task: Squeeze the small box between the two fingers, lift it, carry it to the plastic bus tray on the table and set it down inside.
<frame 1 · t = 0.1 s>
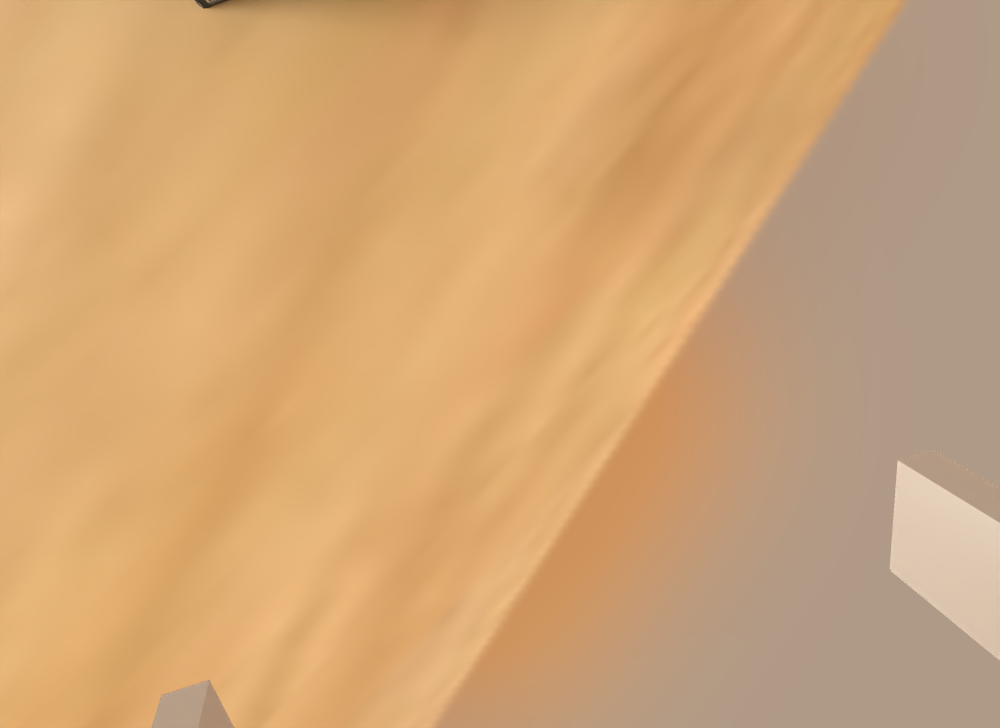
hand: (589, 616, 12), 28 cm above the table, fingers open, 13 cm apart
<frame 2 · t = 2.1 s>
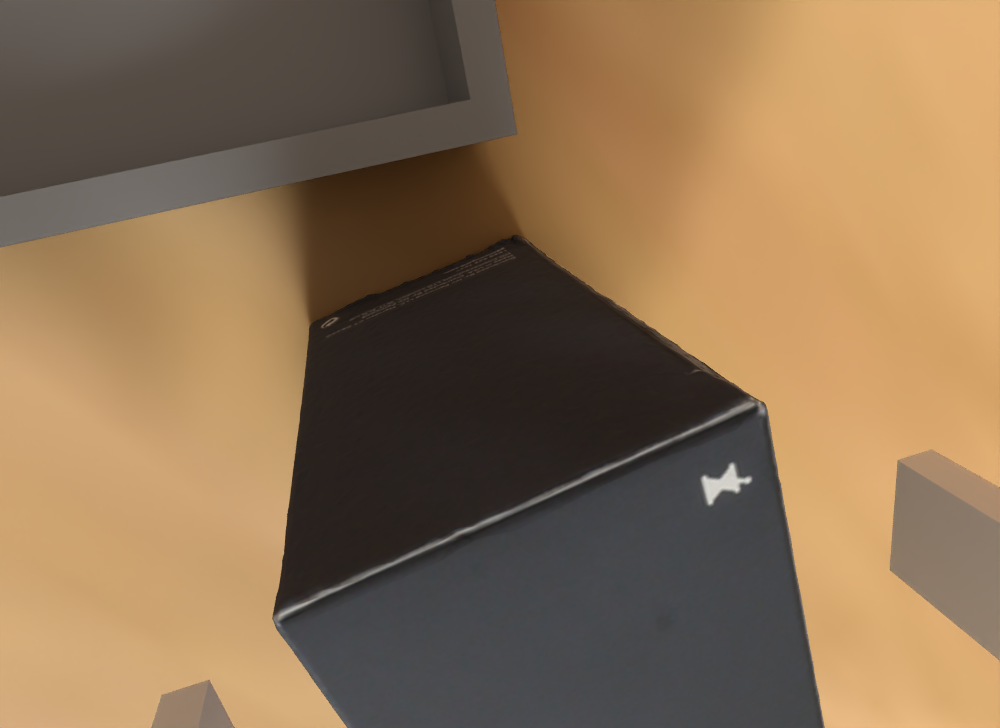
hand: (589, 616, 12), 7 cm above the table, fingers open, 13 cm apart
small box: (477, 436, 19), on the table
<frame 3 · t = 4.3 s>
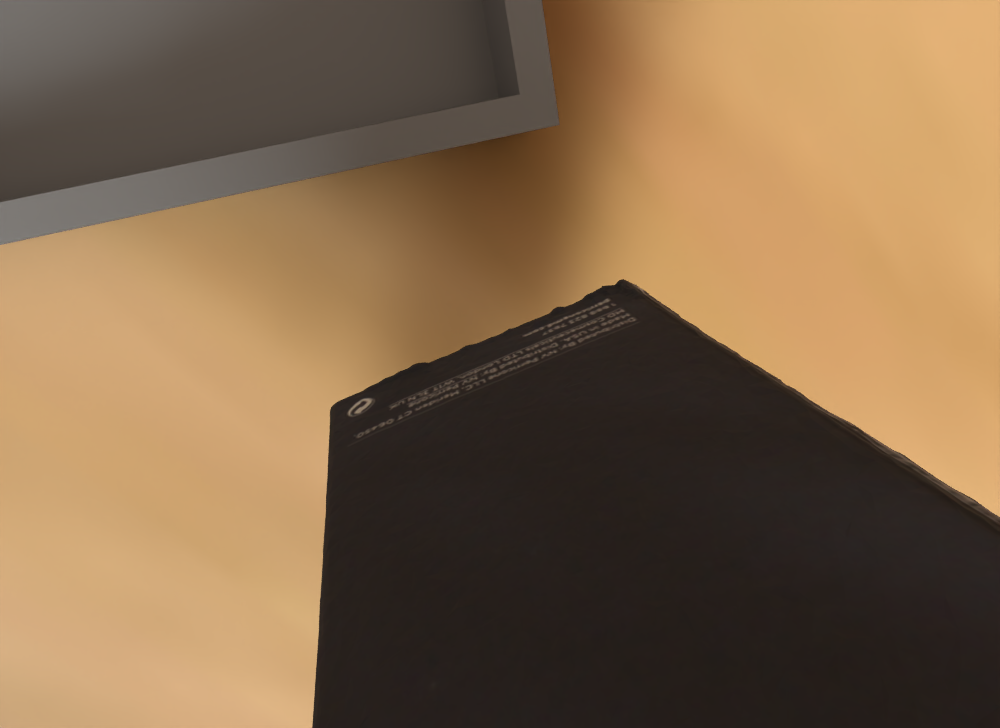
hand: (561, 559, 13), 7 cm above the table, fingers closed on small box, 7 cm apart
small box: (551, 541, 14), point 7 cm above the table, touching gripper
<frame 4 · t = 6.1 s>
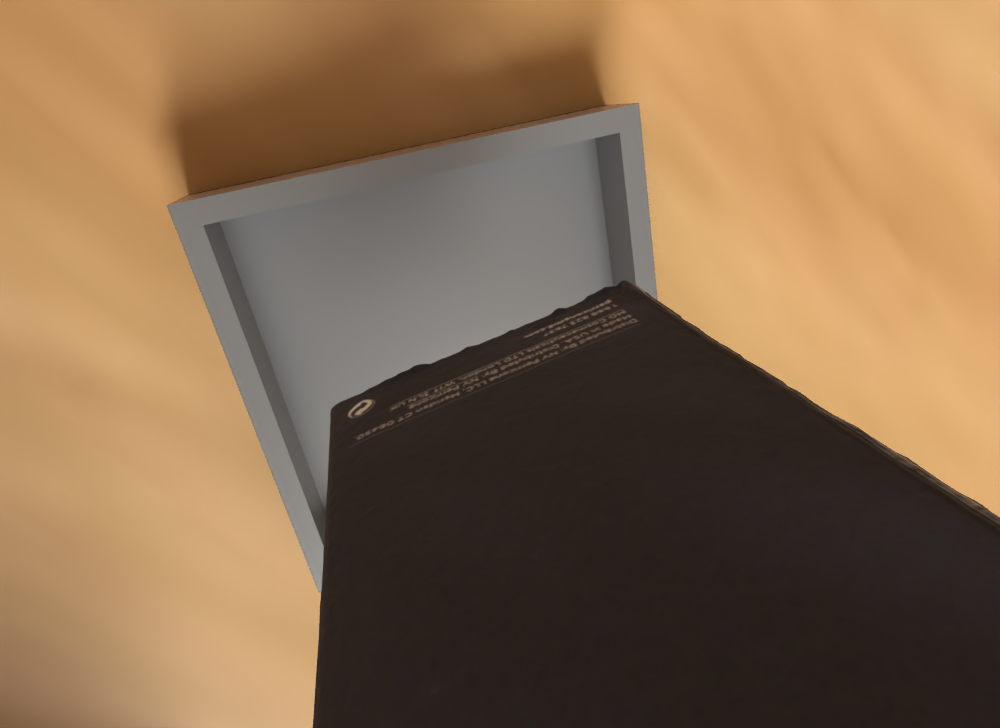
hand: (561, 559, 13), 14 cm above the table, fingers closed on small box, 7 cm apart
small box: (552, 543, 14), point 14 cm above the table, touching gripper
tray: (452, 342, 26), on the table
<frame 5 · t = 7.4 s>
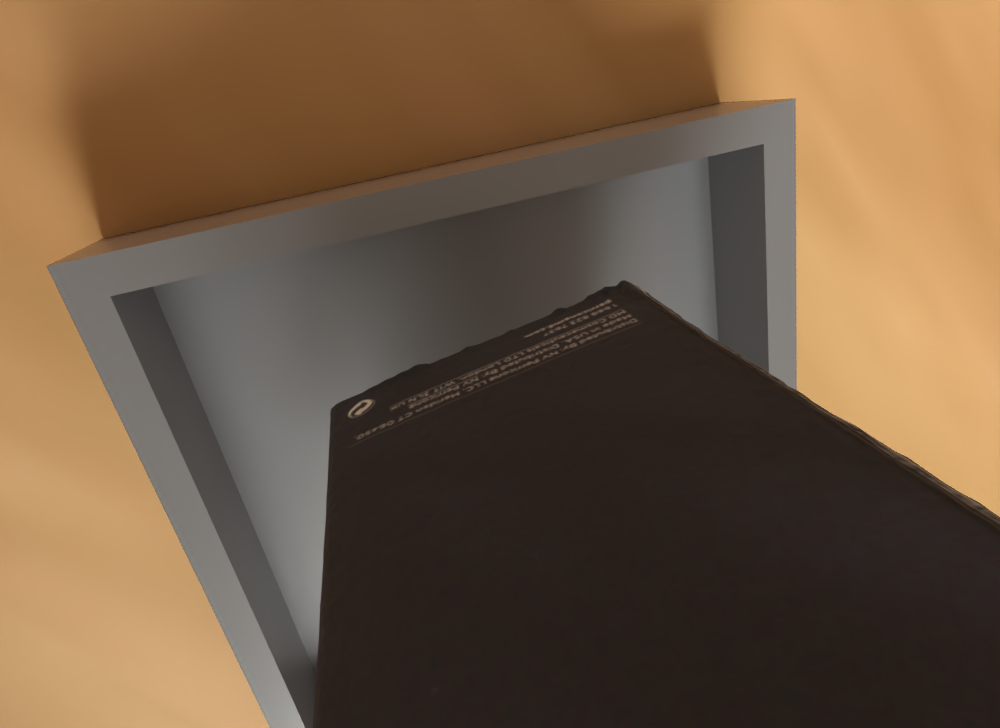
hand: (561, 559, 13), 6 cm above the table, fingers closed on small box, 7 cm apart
small box: (552, 543, 14), point 5 cm above the table, touching gripper
tray: (493, 437, 19), on the table
when the fingers open (2 cm above the table, at t = 8.5 s): small box drops 1 cm, resting on tray.
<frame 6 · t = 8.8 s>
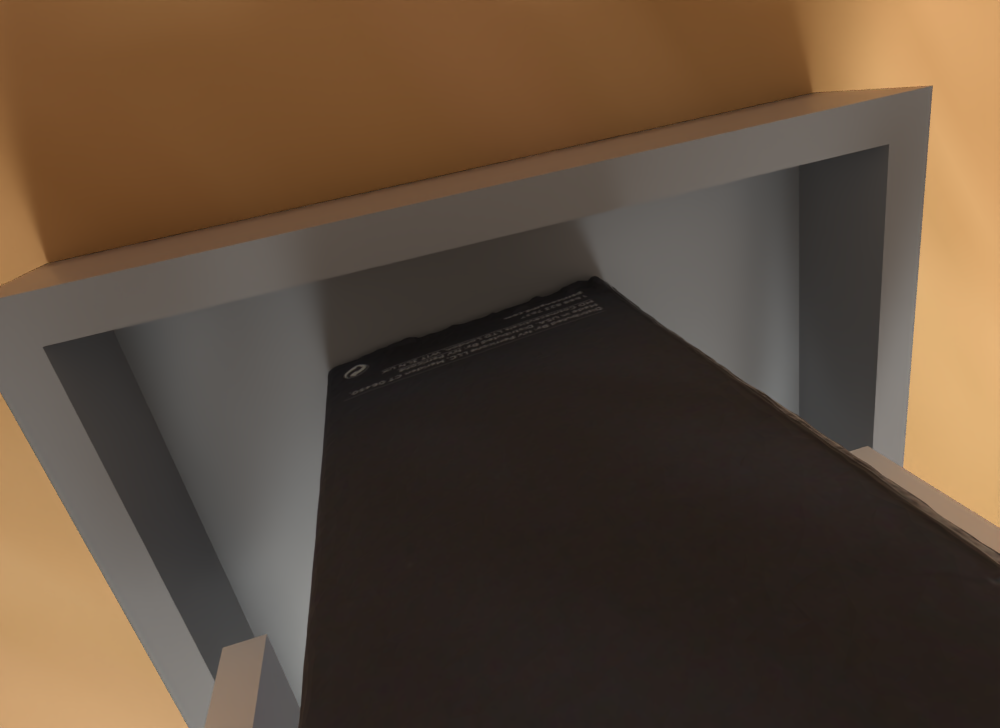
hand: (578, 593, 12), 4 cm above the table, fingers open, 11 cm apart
small box: (518, 512, 15), resting on tray
tray: (529, 494, 16), on the table
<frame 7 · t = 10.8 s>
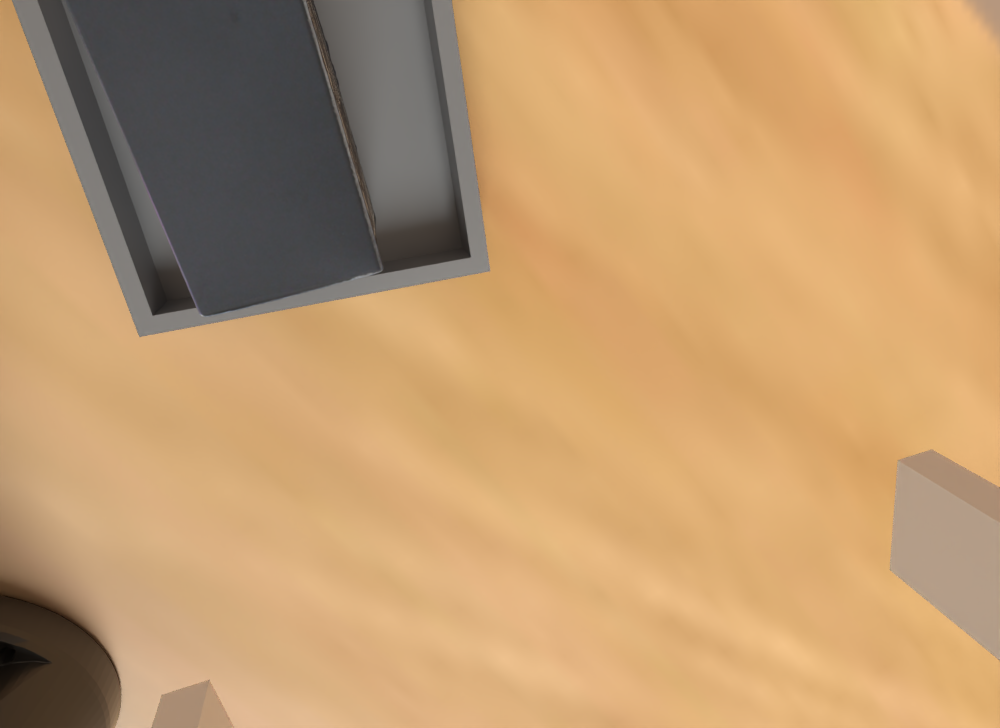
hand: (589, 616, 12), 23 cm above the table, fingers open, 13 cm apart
small box: (273, 123, 28), resting on tray
tray: (282, 118, 28), on the table
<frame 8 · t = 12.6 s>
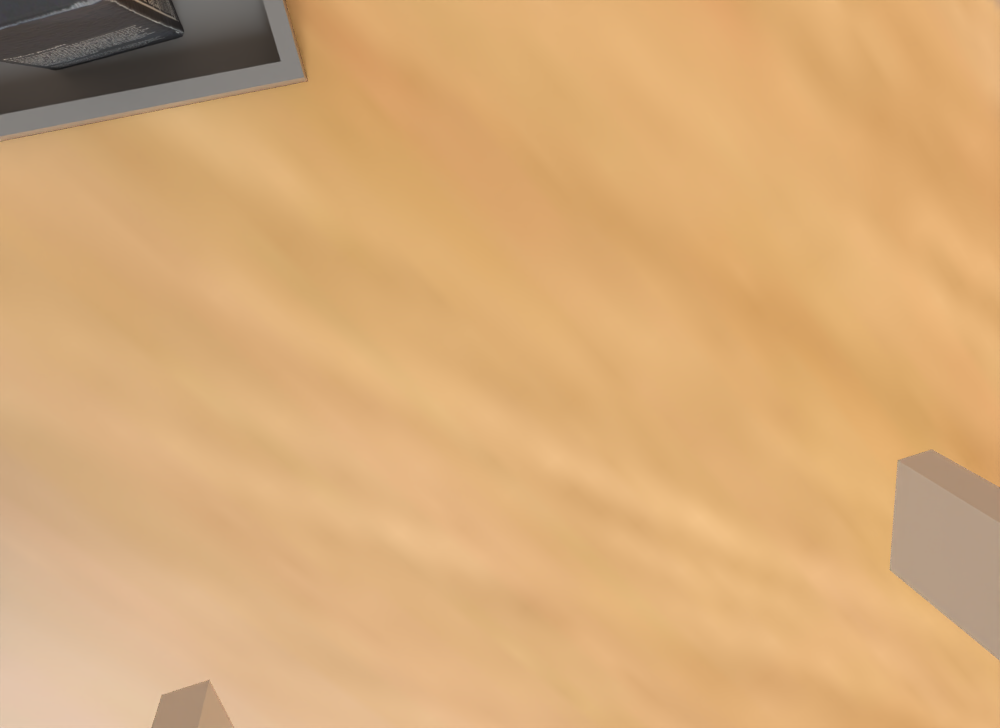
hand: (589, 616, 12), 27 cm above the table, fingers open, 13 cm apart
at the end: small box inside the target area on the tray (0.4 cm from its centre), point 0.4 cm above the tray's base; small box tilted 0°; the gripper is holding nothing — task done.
